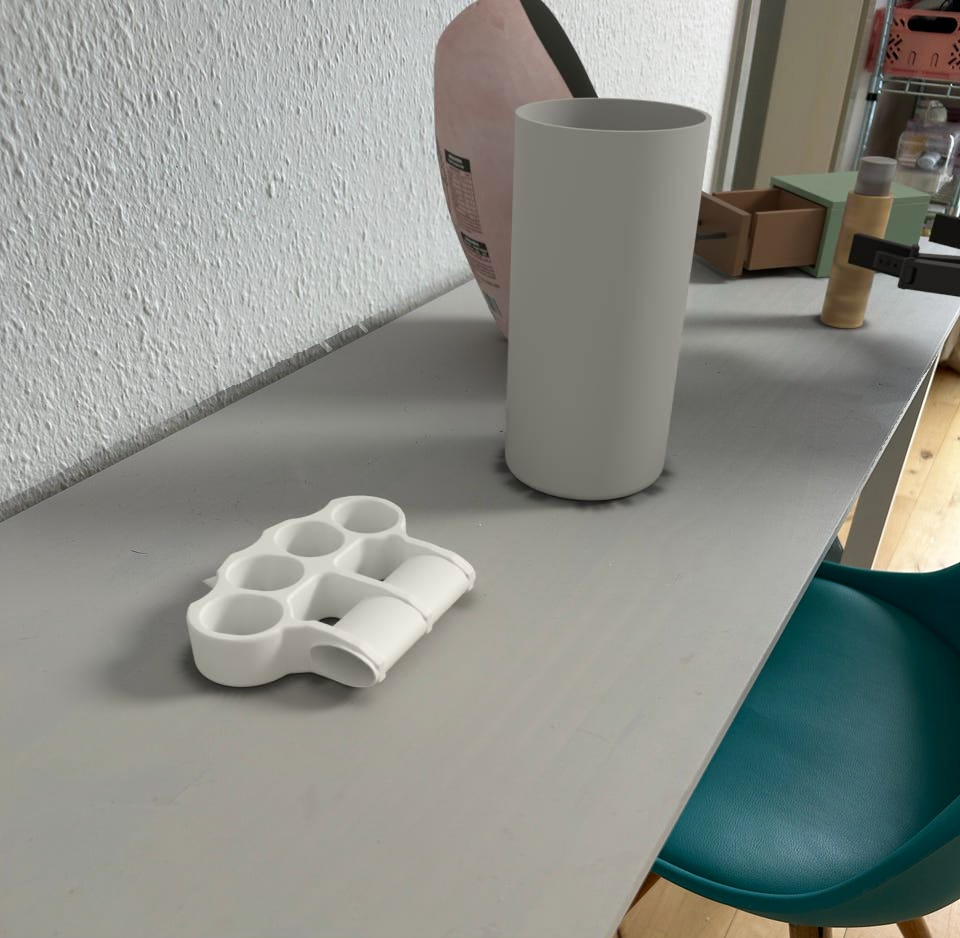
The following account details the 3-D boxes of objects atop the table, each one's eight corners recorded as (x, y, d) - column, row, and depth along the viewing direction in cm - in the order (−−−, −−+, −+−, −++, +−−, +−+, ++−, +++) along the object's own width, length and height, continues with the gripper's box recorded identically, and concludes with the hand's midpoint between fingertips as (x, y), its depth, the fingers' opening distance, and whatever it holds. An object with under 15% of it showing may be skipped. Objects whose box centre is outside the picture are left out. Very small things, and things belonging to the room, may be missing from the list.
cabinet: (816, 277, 119) (833, 201, 114) (758, 247, 129) (771, 176, 124) (911, 269, 122) (931, 194, 117) (847, 239, 133) (863, 170, 127)
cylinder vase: (694, 485, 76) (752, 123, 61) (552, 518, 71) (577, 137, 56) (609, 422, 85) (641, 93, 70) (478, 448, 80) (482, 104, 65)
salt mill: (870, 326, 105) (912, 163, 96) (835, 330, 104) (873, 165, 95) (846, 313, 109) (884, 154, 99) (812, 316, 108) (846, 156, 98)
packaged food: (671, 388, 91) (724, 2, 73) (464, 405, 87) (466, 4, 69) (595, 310, 108) (623, -18, 90) (419, 322, 104) (411, -18, 86)
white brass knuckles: (345, 735, 53) (138, 653, 58) (498, 574, 65) (317, 519, 71) (340, 686, 51) (127, 607, 56) (499, 530, 63) (313, 477, 69)
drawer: (694, 279, 115) (703, 217, 111) (648, 250, 124) (655, 192, 120) (824, 268, 119) (837, 208, 115) (770, 240, 128) (780, 184, 124)
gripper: (1017, 366, 81) (807, 298, 94) (1157, 309, 93) (954, 255, 106) (1050, 273, 76) (824, 215, 90) (1193, 225, 88) (976, 180, 102)
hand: (894, 237), depth 98 cm, fingers open, 13 cm apart
